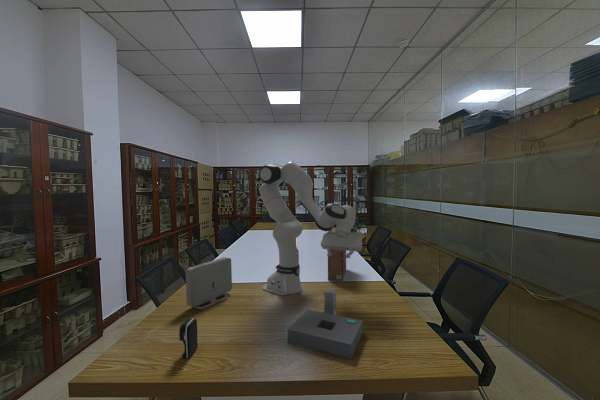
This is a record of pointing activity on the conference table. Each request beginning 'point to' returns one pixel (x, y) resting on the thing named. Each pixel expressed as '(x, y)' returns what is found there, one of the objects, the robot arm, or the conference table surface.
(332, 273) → the book
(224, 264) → the network device
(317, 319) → the docking mount
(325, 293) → the peg
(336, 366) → the conference table surface
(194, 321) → the battery charger
